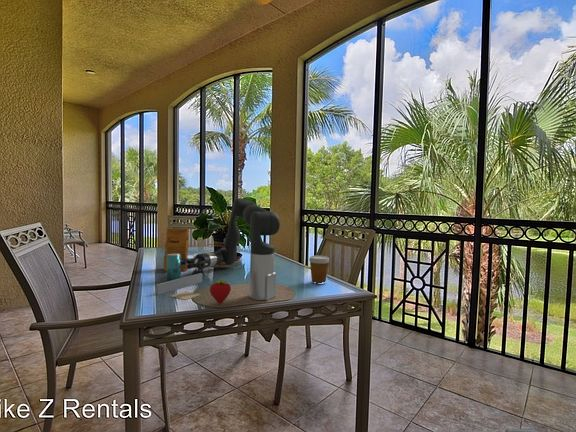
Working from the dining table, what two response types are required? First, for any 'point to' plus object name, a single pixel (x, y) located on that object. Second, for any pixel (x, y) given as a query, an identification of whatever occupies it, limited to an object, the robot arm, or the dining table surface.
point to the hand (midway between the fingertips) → (181, 265)
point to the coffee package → (176, 244)
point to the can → (173, 266)
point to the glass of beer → (319, 268)
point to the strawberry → (220, 290)
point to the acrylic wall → (178, 283)
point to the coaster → (185, 295)
